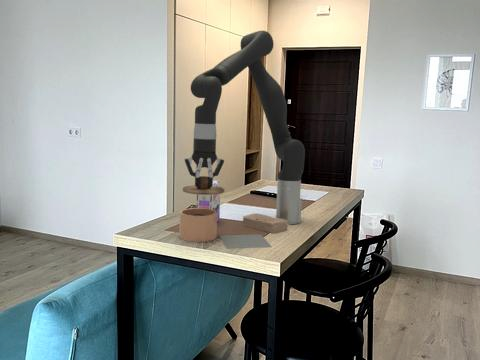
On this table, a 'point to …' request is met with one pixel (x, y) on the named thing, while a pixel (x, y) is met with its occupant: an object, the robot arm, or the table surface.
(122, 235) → the table surface
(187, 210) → the pot
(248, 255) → the table surface
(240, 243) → the mat
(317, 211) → the table surface
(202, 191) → the lid
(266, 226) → the brick
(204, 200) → the candy box
